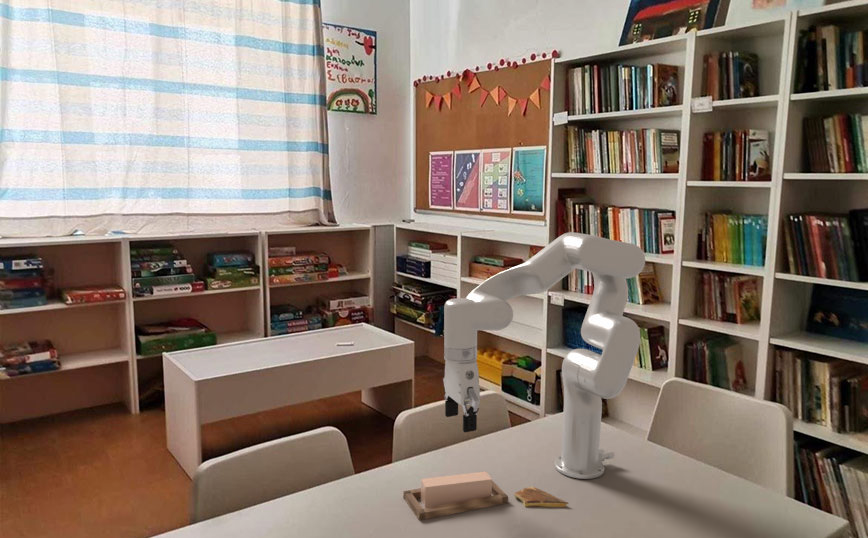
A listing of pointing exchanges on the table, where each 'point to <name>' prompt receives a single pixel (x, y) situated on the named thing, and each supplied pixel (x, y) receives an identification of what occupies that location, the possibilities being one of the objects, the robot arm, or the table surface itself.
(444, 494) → the pink rectangular block
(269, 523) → the table surface
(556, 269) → the robot arm
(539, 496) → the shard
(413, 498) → the brown wooden frame
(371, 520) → the table surface
